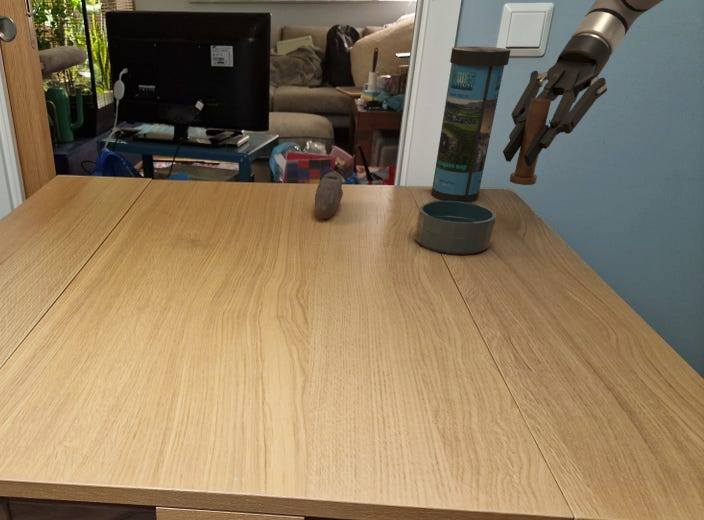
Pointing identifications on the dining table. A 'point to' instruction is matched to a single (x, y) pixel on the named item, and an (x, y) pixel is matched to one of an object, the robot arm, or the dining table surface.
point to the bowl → (455, 227)
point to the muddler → (530, 140)
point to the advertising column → (468, 121)
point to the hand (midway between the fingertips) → (516, 158)
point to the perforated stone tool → (328, 194)
